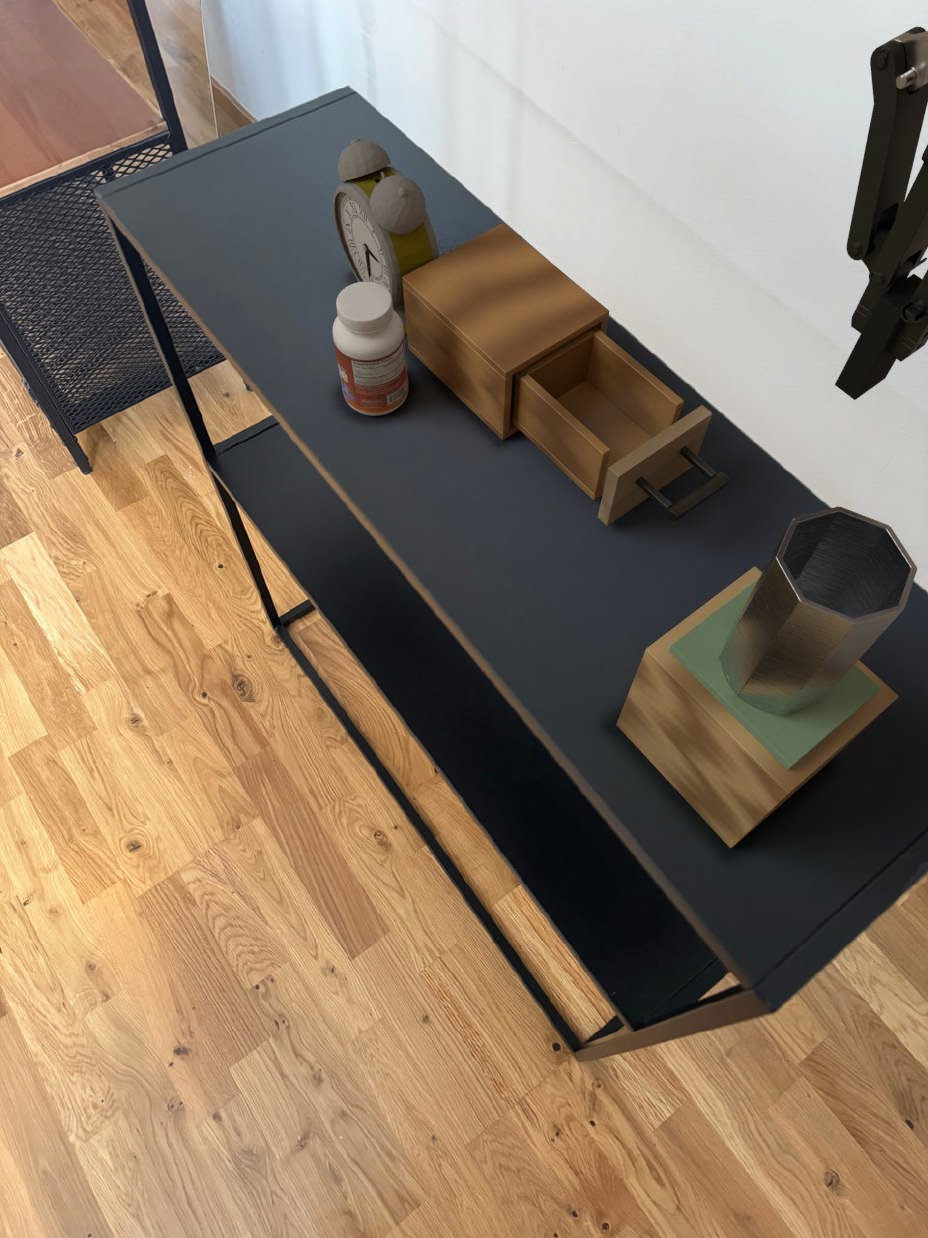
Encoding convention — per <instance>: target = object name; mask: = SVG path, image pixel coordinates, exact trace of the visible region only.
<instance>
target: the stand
mask: <svg viewBox="0 0 928 1238" xmlns="http://www.w3.org/2000/svg"><path fill="white" fill-rule="evenodd" d="M762 573H763V571H761V570H760V569H759V568H757V566H752V568H750V569H749V570H748V571H746V572H745V573H744V574H742V575H741V576H740V577H738V579H736V580H734V581H733V582H732V583H731V584H728V586H727V587H725V588H724V589H723V590H721V591H720V592H719V593H717V594H716V595H714V597H712V598H711V599H710V600H708V601H706V602H705V603H704V604H702V606H700V607H699V608H698V609H696V610H695V611H694V612H692V613H691V614H690V615H689V616H686V618H685V619H683V620H682V621H681V622H679V623H678V624H677V625H675V626H674V627H673V628H672V629H670V630H668V631H667V632H666V633H665V634H663V635H662V636H661V637H659V638H658V639H657V640H656V641H655V642H653V643H651V645H649V646H647V647H646V648H645V650H644V653H643V655H642V658H641V660H640V663H639V665H638V668H637V670H636V673H635V676H634V678H633V681H632V684H631V686H630V688H629V691H628V694H627V696H626V698H625V700H624V703H623V706H622V708H621V712H620V714H619V717H618V719H617V722H616V724H615V725H616V726H617V727H618V728H619V730H620V731H621V732H622V733H623V734H624V735H625V736H626V737H627V738H628V739H629V741H631V742H632V744H633V745H634V746H635V747H636V748H637V749H638V750H639V751H640V752H641V753H642V755H644V757H646V759H647V760H648V761H649V762H650V763H651V764H652V765H653V766H654V768H655V769H657V771H658V772H659V773H661V775H662V776H663V777H664V778H665V780H666V781H668V782H669V783H670V785H671V786H672V787H673V788H674V789H675V790H676V791H677V792H678V793H679V794H680V796H682V798H683V799H684V800H685V801H686V802H687V803H688V804H689V806H691V807H692V809H693V810H694V811H695V812H696V813H697V814H698V815H699V816H700V817H701V818H702V819H703V820H704V821H705V823H706V824H707V825H708V826H709V827H710V828H711V829H712V830H713V831H714V832H715V833H716V834H717V836H718V837H719V838H720V839H721V840H722V841H723V842H724V843H725V844H726V845H727V846H728V848H729V849H733V848H734V847H735V846H736V845H738V843H740V842H741V841H742V840H743V839H744V838H745V837H746V836H748V834H750V833H751V832H752V831H753V830H754V829H755V828H756V827H758V826H759V825H760V824H761V823H762V822H763V821H764V820H766V819H767V818H768V817H769V816H770V815H771V814H773V813H774V811H776V810H777V809H778V808H779V807H780V806H781V805H782V804H784V803H785V802H786V801H787V800H789V798H790V797H792V796H793V795H794V794H795V793H796V792H798V790H800V788H802V787H803V786H804V785H805V784H806V783H807V782H809V781H810V780H811V779H812V778H813V777H815V775H816V774H818V773H819V772H820V771H821V770H822V769H823V768H824V767H825V766H826V765H828V764H829V763H830V762H831V761H832V760H833V759H834V758H835V757H836V756H837V755H838V754H839V753H841V752H842V751H843V750H844V749H845V748H846V747H847V746H848V745H849V744H850V743H851V742H852V741H854V740H855V738H857V737H858V736H859V735H860V734H861V733H862V732H863V731H865V730H866V728H868V726H870V725H871V724H872V723H873V722H874V721H875V720H876V719H877V718H878V717H879V716H880V715H881V714H882V713H883V712H885V711H886V710H887V709H888V708H889V707H890V706H892V704H894V702H895V701H896V700H898V698H899V697H900V696H899V695H898V694H897V693H896V692H895V691H894V690H893V689H892V688H891V687H890V686H888V685H887V683H885V682H884V681H883V680H882V679H880V677H878V676H877V675H876V674H875V673H874V672H873V671H872V670H871V669H870V668H869V667H868V666H866V665H865V664H864V663H863V662H861V660H860V659H859V660H858V661H857V662H856V663H855V665H856V666H857V667H858V668H859V669H860V670H861V671H862V672H863V673H864V674H865V675H867V676H868V677H869V678H870V679H871V680H872V681H873V682H874V683H875V684H876V685H878V686H879V687H880V688H881V689H880V690H879V691H878V692H877V693H876V694H875V695H874V696H873V697H872V698H871V699H870V700H868V701H867V702H866V703H865V704H864V705H863V706H861V707H860V708H859V709H858V710H857V711H856V712H855V713H853V714H852V715H851V716H850V717H849V718H848V719H847V720H845V721H844V722H843V723H842V724H841V725H840V726H838V727H837V728H836V729H835V730H834V731H833V732H832V733H830V734H829V735H828V736H827V737H826V738H825V739H824V740H822V741H821V742H820V743H819V744H818V745H817V746H816V747H814V748H813V749H812V750H811V751H810V752H809V753H807V754H806V755H805V756H804V757H803V758H802V759H801V760H799V761H798V762H797V763H796V764H795V765H794V766H793V767H791V768H790V769H789V770H786V769H785V768H784V767H783V766H782V765H781V764H780V763H779V762H778V761H777V760H776V759H775V758H774V757H773V756H772V755H771V754H770V753H769V752H768V751H767V750H766V749H765V748H764V747H763V745H762V744H761V743H760V742H759V741H758V740H757V739H756V738H755V737H754V736H753V735H752V734H751V733H750V732H749V731H748V730H747V729H746V728H745V727H744V726H743V725H742V724H741V723H740V722H739V721H738V720H737V719H736V718H735V717H734V716H733V715H732V714H731V713H730V712H729V711H728V710H727V709H726V708H725V707H724V706H723V705H722V704H721V703H720V702H719V701H718V700H717V699H716V698H715V697H714V696H713V695H712V694H711V693H710V692H709V691H708V690H707V689H706V688H705V687H704V686H703V685H702V684H701V683H700V682H699V681H698V680H697V679H696V678H695V677H694V676H693V675H692V674H691V673H690V672H689V671H688V670H687V669H686V668H685V667H684V666H683V665H682V664H681V663H680V662H679V661H678V660H677V659H676V658H675V657H674V656H673V655H672V654H671V653H670V652H669V649H670V647H671V645H672V644H674V643H675V642H676V641H678V640H679V639H680V638H681V637H683V636H684V635H685V634H687V633H688V632H689V631H691V630H692V629H693V628H695V627H696V626H697V625H698V624H700V623H701V622H702V621H704V620H705V619H706V618H708V617H709V616H710V615H711V614H713V613H714V612H715V611H717V610H718V609H719V608H721V607H722V606H723V605H724V604H726V603H727V602H728V601H730V600H731V599H732V598H734V597H735V596H736V595H737V594H739V593H740V592H741V591H743V590H744V589H745V588H747V587H748V586H749V585H751V584H752V583H753V582H754V581H756V580H757V579H758V578H760V576H761V574H762Z"/></svg>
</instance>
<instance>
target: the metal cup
mask: <svg viewBox="0 0 928 1238" xmlns="http://www.w3.org/2000/svg"><path fill="white" fill-rule="evenodd" d="M917 571H918V566H917V565H916V563H915V561H914V560H913V559H912V557H911V556H910V554H909V553H908V551H907V550H906V548H905V546H904V545H903V544H902V542H901V540H900V539H899V537H898V535H897V534H896V532H895V531H894V529H893V528H892V526H890V525H889V524H886V523H884V522H881V521H879V520H876V519H874V518H872V517H868V516H866V515H863V514H860V513H858V512H856V511H853V510H851V509H848V508H846V507H842V506H839V505H837V506H835V507H831V508H827V509H824V510H819V511H816V512H813V513H808V514H804V515H801V516H797V517H794V518H792V519H791V520H790V522H789V524H788V526H787V528H786V529H785V531H784V533H783V535H782V537H781V539H780V540H779V542H778V544H777V546H776V547H775V549H774V551H773V553H772V554H771V557H770V558H769V560H768V562H767V564H766V566H765V567H764V569H763V570H762V574H761V576H760V578H759V580H758V581H757V583H756V585H755V587H754V589H753V590H752V592H751V594H750V596H749V598H748V599H747V601H746V603H745V605H744V607H743V608H742V610H741V612H740V614H739V616H738V617H737V619H736V621H735V623H734V624H733V627H732V629H731V631H730V633H729V636H728V638H727V640H726V642H725V644H724V647H723V649H722V652H721V654H720V656H719V660H720V662H721V664H722V669H723V673H724V676H725V678H726V680H727V682H728V684H729V686H730V687H731V688H732V690H733V691H734V692H735V693H736V695H737V696H738V697H739V698H741V699H742V700H743V701H745V702H746V703H748V704H749V705H751V706H753V707H755V708H756V709H759V710H762V711H765V712H768V713H774V714H777V715H784V714H792V713H796V712H799V711H802V710H805V709H806V708H808V707H810V706H814V705H817V704H820V703H821V702H822V700H823V699H824V698H825V697H826V696H827V695H828V694H829V693H830V692H831V690H832V689H833V688H834V687H835V686H836V685H837V684H838V683H839V681H840V680H841V679H842V678H843V677H844V676H845V675H846V674H847V672H848V671H849V670H850V669H851V668H852V667H853V666H854V665H855V663H856V662H857V661H858V660H859V661H860V659H861V658H863V656H864V654H866V652H868V650H869V649H870V648H871V647H872V646H873V645H874V644H875V642H876V641H877V640H878V639H879V638H881V635H882V634H883V633H884V632H885V631H886V630H887V629H888V628H889V627H890V625H892V623H893V622H894V621H895V620H896V619H897V618H898V617H899V615H901V613H902V612H903V611H904V610H905V607H906V605H907V602H908V599H909V596H910V593H911V589H912V588H913V587H912V586H913V584H914V581H915V578H916V575H917Z"/></svg>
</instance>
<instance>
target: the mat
mask: <svg viewBox="0 0 928 1238" xmlns="http://www.w3.org/2000/svg"><path fill="white" fill-rule="evenodd" d="M758 580H759V578H758V579H757V580H756V581H754V582H753V583H752V584H751V585H749V586H748V587H747V588H745V589H744V590H743V591H741V592H740V593H739V594H737V595H736V596H735V597H734V598H732V599H731V600H730V601H728V602H727V603H726V604H724V605H723V606H722V607H721V608H719V609H718V610H717V611H715V612H714V613H713V614H711V615H710V616H709V617H708V618H706V619H705V620H704V621H702V622H701V623H700V624H698V625H697V626H696V627H695V628H693V629H692V630H691V631H689V632H688V633H687V634H685V635H684V636H683V637H681V638H680V639H679V640H678V641H676V642H675V643H674V644H672V645H671V647H670V649H669V652H670V653H671V654H672V655H673V656H674V657H675V658H676V659H677V660H678V661H679V662H680V663H681V664H682V665H683V666H684V667H685V668H686V669H687V670H688V671H689V672H690V673H691V674H692V675H693V676H694V677H695V678H696V679H697V680H698V681H699V682H700V683H701V684H702V685H703V686H704V687H705V688H706V689H707V690H708V691H709V692H710V693H711V694H712V695H713V696H714V697H715V698H716V699H717V700H718V701H719V702H720V703H721V704H722V705H723V706H724V707H725V708H726V709H727V710H728V711H729V712H730V713H731V714H732V715H733V716H734V717H735V718H736V719H737V720H738V721H739V722H740V723H741V724H742V725H743V726H744V727H745V728H746V729H747V730H748V731H749V732H750V733H751V734H752V735H753V736H754V737H755V738H756V739H757V740H758V741H759V742H760V743H761V744H762V745H763V747H764V748H765V749H766V750H767V751H768V752H769V753H770V754H771V755H772V756H773V757H774V758H775V759H776V760H777V761H778V762H779V763H780V764H781V765H782V766H783V767H784V768H785V769H786V770H789V769H790V768H791V767H793V766H794V765H795V764H796V763H797V762H798V761H799V760H801V759H802V758H803V757H804V756H805V755H806V754H807V753H809V752H810V751H811V750H812V749H813V748H814V747H816V746H817V745H818V744H819V743H820V742H821V741H822V740H824V739H825V738H826V737H827V736H828V735H829V734H830V733H832V732H833V731H834V730H835V729H836V728H837V727H838V726H840V725H841V724H842V723H843V722H844V721H845V720H847V719H848V718H849V717H850V716H851V715H852V714H853V713H855V712H856V711H857V710H858V709H859V708H860V707H861V706H863V705H864V704H865V703H866V702H867V701H868V700H870V699H871V698H872V697H873V696H874V695H875V694H876V693H877V692H878V691H879V690H880V689H881V688H880V687H879V686H878V685H876V684H875V683H874V682H873V681H872V680H871V679H870V678H869V677H868V676H867V675H865V674H864V673H863V672H862V671H861V670H860V669H859V668H858V667H857V666H856V665H854V666H853V667H852V668H851V669H850V670H849V671H848V672H847V674H846V675H845V676H844V677H843V678H842V679H841V680H840V681H839V683H838V684H837V685H836V686H835V687H834V688H833V689H832V690H831V692H830V693H829V694H828V695H827V696H826V697H825V698H824V699H823V700H822V702H821V703H820V704H817V705H814V706H810V707H808V708H806V709H805V710H802V711H799V712H796V713H792V714H784V715H777V714H774V713H768V712H765V711H762V710H759V709H756V708H755V707H753V706H751V705H749V704H748V703H746V702H745V701H743V700H742V699H741V698H739V697H738V696H737V695H736V693H735V692H734V691H733V690H732V688H731V687H730V686H729V684H728V682H727V680H726V678H725V676H724V673H723V669H722V664H721V662H720V660H719V656H720V654H721V652H722V649H723V647H724V644H725V642H726V640H727V638H728V636H729V633H730V631H731V629H732V627H733V624H734V623H735V621H736V619H737V617H738V616H739V614H740V612H741V610H742V608H743V607H744V605H745V603H746V601H747V599H748V598H749V596H750V594H751V592H752V590H753V589H754V587H755V585H756V583H757V581H758Z"/></svg>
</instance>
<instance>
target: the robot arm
mask: <svg viewBox="0 0 928 1238" xmlns="http://www.w3.org/2000/svg"><path fill="white" fill-rule="evenodd" d="M869 64H870V65H869V66H870V77H871V86H872V88H871V89H872V99H873V100H872V101H873V106H872V107H873V108H872V112H871V117H870V122H869V128H868V133H867V138H866V142H865V146H864V147H865V149H864V153H863V157H862V163H861V169H860V172H859V173H860V174H859V178H858V184H857V189H856V194H855V199H854V205H853V208H852V209H853V210H852V214H851V220H850V225H849V231H848V236H847V241H846V253H847V255H848V256H849V258H850V259H852V260H853V261H862V263H863V264H864V265H865V266H866V269H867V270H868V283H867V285H866V287H865V289H864V291H863V294H862V295H861V297H860V300H859V301H858V303H857V305H856V308H855V310H854V311H853V313H852V315H851V321H850V322H851V323H850V327H851V328H853V329H854V330H855V331H857V332H858V333H860V334H859V337H858V339H857V341H856V342H855V344H854V346H853V348H852V350H851V352H850V354H849V356H848V358H847V360H846V362H845V364H844V365H843V368H842V370H841V372H840V374H839V376H838V378H837V379H836V381H835V383H834V386H835V387H837V388H838V389H839V390H841V391H842V392H843V393H844V394H846V395H847V396H848V397H850V398H851V399H853V400H854V401H856V400H858V399H859V398H860V397H861V396H863V395H864V394H866V393H868V392H869V391H870V390H871V389H873V388H874V387H875V386H877V385H879V384H880V383H881V382H882V381H884V380H886V379H887V377H888V374H889V373H890V371H891V370H892V368H893V366H894V364H895V362H896V361H899V362H901V363H902V362H903V361H904V360H906V359H907V358H910V356H912V355H913V354H914V353H916V352H917V351H919V350H920V349H921V348H923V347H925V346H926V344H927V342H928V269H927V270H926V272H925V273H924V275H923V277H922V278H921V277H920V276H918V275H917V274H915V273H912V274H911V272H912V271H913V270H915V269H917V268H918V267H919V266H921V265H922V264H923V263H925V262H926V261H927V260H928V258H927V257H924V255H925V254H926V252H927V250H928V143H927V144H926V146H925V149H924V151H923V152H922V155H921V161H922V162H923V163H922V164H921V167H920V169H919V171H918V172H917V175H916V177H915V179H914V181H913V182H912V185H911V187H910V190H909V191H908V188H909V184H910V180H911V175H912V171H913V167H914V162H915V158H916V154H917V150H918V146H919V141H920V137H921V133H922V129H923V125H924V120H925V117H926V111H927V108H928V30H926V29H925V28H924V27H922V26H914V27H912V28H910V29H908V30H906V31H905V32H903V33H901V34H899V35H897V36H895V37H893V38H891V39H890V40H888V41H886V42H884V43H883V44H881V45H879V46H878V47H877V46H876V47H875V49H874V50H873V51H872V52H871V55H870V61H869ZM907 192H908V193H907ZM910 274H911V275H910ZM909 275H910V276H909Z"/></svg>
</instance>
